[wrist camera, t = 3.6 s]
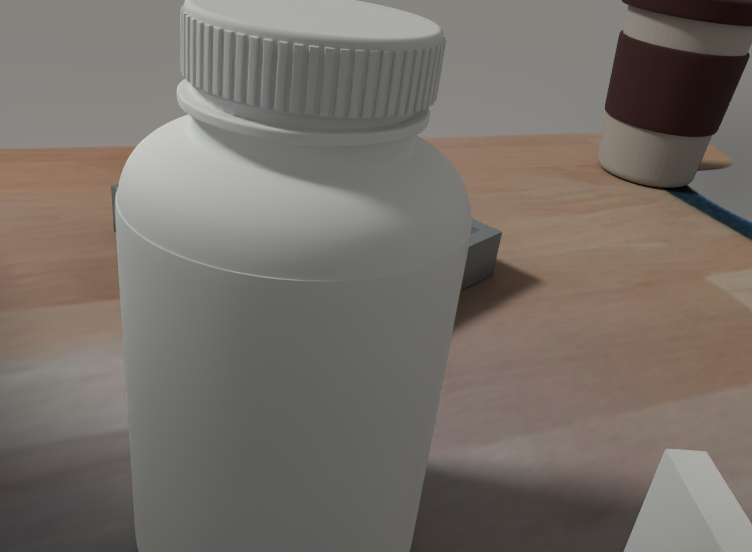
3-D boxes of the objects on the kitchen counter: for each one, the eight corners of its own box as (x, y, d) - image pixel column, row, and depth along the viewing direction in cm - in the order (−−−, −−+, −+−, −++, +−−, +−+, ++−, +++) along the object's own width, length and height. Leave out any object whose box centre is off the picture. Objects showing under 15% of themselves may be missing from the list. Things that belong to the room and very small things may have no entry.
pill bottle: (407, 456, 25) (489, 4, 18) (409, 679, 18) (544, 82, 11) (180, 430, 25) (170, -36, 18) (92, 646, 18) (15, 16, 11)
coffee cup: (651, 149, 62) (710, -40, 54) (739, 194, 54) (821, -19, 47) (554, 151, 58) (604, -51, 51) (633, 200, 50) (705, -31, 43)
